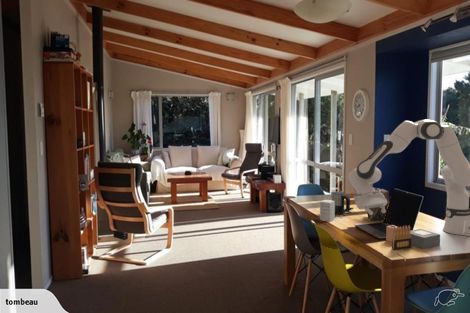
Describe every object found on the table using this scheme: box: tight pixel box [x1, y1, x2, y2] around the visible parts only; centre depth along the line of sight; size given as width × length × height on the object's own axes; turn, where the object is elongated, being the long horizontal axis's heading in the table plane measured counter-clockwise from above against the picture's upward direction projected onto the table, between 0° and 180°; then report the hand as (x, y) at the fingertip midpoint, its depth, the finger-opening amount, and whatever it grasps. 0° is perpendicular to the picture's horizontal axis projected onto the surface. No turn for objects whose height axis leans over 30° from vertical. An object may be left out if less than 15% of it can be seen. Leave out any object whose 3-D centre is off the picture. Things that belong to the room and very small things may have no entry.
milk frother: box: [330, 191, 354, 215], centre depth 279 cm, size 14×16×15 cm
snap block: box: [385, 224, 398, 244], centre depth 214 cm, size 5×5×9 cm
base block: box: [410, 228, 441, 250], centre depth 208 cm, size 12×12×6 cm
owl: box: [366, 188, 390, 222], centre depth 259 cm, size 13×13×20 cm
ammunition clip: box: [391, 224, 412, 251], centre depth 202 cm, size 11×2×12 cm, turn 107°
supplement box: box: [319, 199, 336, 223], centre depth 260 cm, size 7×7×13 cm
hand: (378, 213), depth 223 cm, fingers open, 8 cm apart
